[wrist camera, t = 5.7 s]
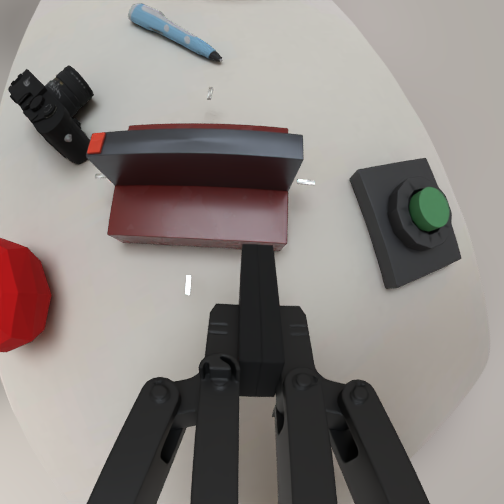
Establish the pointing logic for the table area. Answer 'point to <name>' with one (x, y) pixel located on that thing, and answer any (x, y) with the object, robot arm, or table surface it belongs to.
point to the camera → (55, 109)
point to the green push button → (429, 209)
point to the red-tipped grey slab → (198, 157)
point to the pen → (170, 30)
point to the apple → (21, 296)
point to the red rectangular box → (200, 209)
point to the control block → (402, 222)
